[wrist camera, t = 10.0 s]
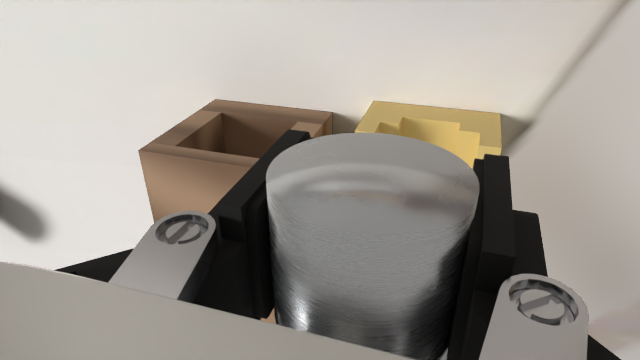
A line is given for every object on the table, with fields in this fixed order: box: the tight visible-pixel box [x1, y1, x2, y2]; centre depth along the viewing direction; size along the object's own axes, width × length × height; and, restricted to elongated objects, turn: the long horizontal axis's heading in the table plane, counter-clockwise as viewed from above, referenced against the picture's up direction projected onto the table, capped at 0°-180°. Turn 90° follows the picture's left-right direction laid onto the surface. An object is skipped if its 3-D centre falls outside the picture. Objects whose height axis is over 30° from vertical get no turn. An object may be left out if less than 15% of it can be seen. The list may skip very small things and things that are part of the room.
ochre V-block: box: [355, 101, 502, 169], centre depth 26 cm, size 8×7×4 cm
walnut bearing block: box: [138, 99, 332, 324], centre depth 29 cm, size 11×8×8 cm
